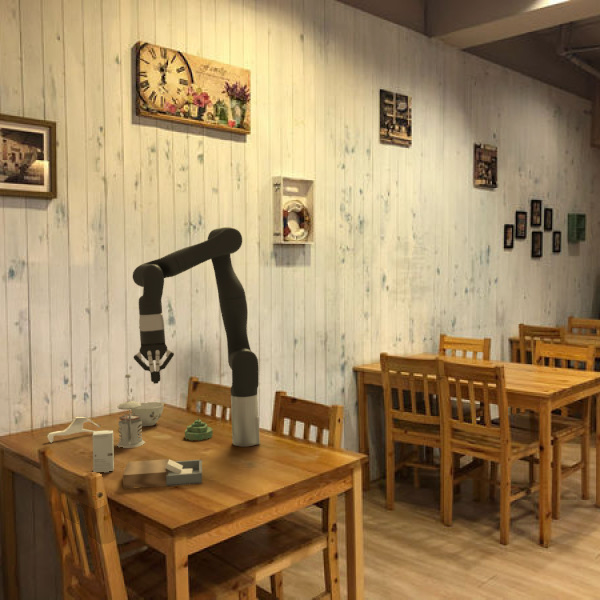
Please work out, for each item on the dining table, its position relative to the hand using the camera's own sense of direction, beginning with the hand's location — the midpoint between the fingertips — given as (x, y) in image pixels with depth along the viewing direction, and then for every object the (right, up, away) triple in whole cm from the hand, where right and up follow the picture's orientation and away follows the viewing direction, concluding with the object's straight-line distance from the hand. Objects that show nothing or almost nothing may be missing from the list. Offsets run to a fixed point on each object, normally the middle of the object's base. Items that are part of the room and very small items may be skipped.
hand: (155, 383), depth 200 cm
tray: (+11, -27, -11) cm, 31 cm away
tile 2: (+11, -25, -12) cm, 29 cm away
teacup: (-16, -23, +52) cm, 60 cm away
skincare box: (-15, -27, -3) cm, 31 cm away
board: (0, -27, -13) cm, 30 cm away
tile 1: (+8, -24, -13) cm, 28 cm away
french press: (-14, -25, +24) cm, 38 cm away
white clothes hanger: (-38, -25, +36) cm, 58 cm away
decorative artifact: (+8, -24, +32) cm, 41 cm away
